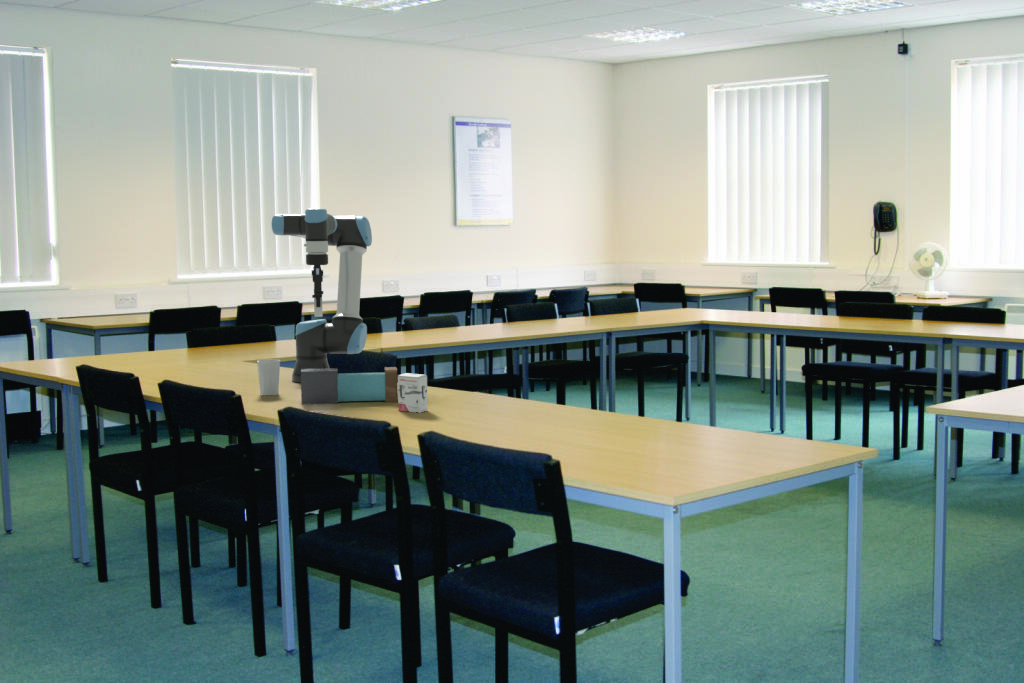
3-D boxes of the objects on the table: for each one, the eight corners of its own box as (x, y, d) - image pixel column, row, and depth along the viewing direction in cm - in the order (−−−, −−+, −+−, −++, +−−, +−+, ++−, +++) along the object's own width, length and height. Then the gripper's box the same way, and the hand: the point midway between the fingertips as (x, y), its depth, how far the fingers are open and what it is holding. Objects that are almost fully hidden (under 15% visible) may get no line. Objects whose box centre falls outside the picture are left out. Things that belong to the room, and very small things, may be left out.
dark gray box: (302, 400, 370) (301, 368, 369) (337, 400, 372) (337, 368, 371) (301, 404, 364) (300, 371, 362) (337, 403, 365) (337, 370, 364)
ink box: (397, 411, 351) (396, 374, 349) (405, 408, 355) (405, 372, 354) (420, 413, 347) (419, 376, 345) (428, 410, 351) (428, 374, 350)
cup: (278, 396, 381) (277, 362, 379) (255, 396, 381) (254, 362, 380) (283, 392, 389) (282, 359, 387) (261, 392, 389) (260, 359, 388)
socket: (384, 398, 375) (384, 367, 373) (396, 398, 375) (396, 367, 374) (385, 402, 368) (385, 369, 367) (397, 401, 369) (397, 369, 367)
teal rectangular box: (328, 399, 370) (328, 373, 369) (393, 398, 374) (393, 372, 373) (328, 401, 366) (328, 375, 365) (394, 400, 370) (394, 373, 369)
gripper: (306, 251, 387) (307, 311, 389) (305, 255, 362) (307, 318, 365) (327, 251, 388) (328, 310, 391) (328, 255, 364) (329, 318, 366)
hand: (318, 314), depth 378 cm, fingers open, 13 cm apart
